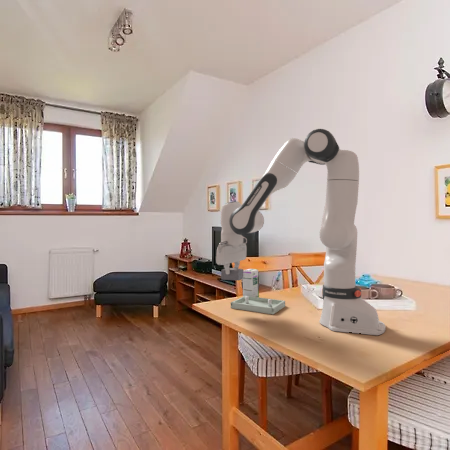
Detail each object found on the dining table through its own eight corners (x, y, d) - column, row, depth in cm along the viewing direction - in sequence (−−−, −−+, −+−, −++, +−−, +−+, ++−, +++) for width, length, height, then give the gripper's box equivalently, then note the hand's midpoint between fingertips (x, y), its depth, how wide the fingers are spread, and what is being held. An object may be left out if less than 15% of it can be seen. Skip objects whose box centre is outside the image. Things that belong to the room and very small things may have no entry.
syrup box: (252, 301, 156) (252, 271, 155) (242, 299, 159) (242, 269, 159) (259, 298, 160) (258, 269, 160) (248, 297, 164) (248, 268, 163)
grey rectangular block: (243, 278, 140) (243, 268, 140) (238, 280, 135) (238, 270, 135) (226, 277, 143) (226, 267, 143) (221, 279, 139) (221, 269, 139)
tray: (285, 306, 146) (285, 297, 146) (273, 314, 134) (273, 304, 134) (245, 300, 157) (245, 292, 157) (230, 308, 145) (230, 299, 145)
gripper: (225, 242, 128) (226, 277, 129) (248, 238, 146) (249, 269, 146) (211, 241, 132) (212, 276, 132) (236, 238, 149) (237, 269, 149)
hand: (232, 272), depth 139 cm, fingers closed on grey rectangular block, 5 cm apart
